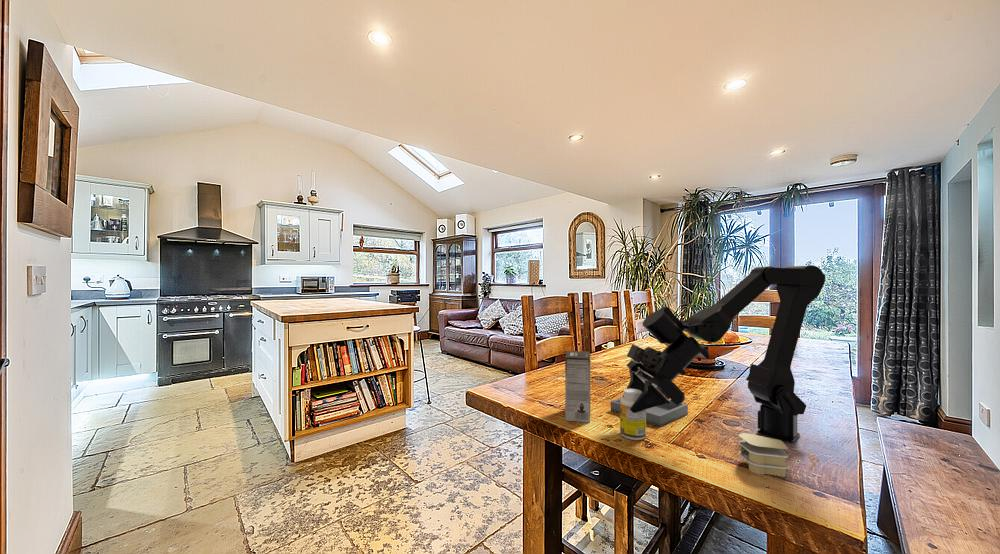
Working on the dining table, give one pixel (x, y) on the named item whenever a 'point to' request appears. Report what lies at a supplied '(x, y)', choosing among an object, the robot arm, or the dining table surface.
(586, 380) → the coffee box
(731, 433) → the dining table surface
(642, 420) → the supplement bottle
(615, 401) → the tray
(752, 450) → the stacked layers on plate
